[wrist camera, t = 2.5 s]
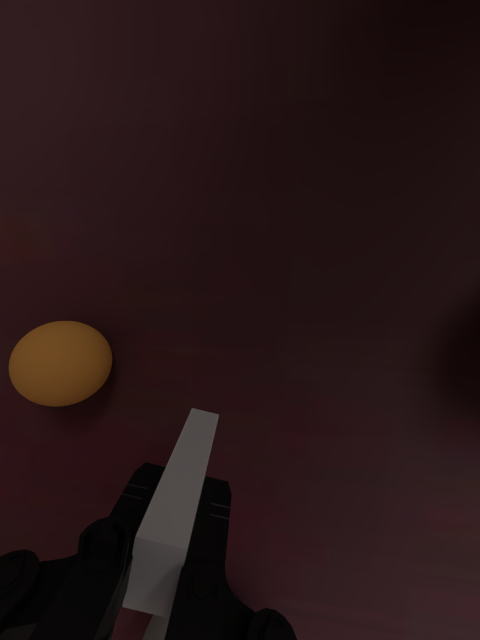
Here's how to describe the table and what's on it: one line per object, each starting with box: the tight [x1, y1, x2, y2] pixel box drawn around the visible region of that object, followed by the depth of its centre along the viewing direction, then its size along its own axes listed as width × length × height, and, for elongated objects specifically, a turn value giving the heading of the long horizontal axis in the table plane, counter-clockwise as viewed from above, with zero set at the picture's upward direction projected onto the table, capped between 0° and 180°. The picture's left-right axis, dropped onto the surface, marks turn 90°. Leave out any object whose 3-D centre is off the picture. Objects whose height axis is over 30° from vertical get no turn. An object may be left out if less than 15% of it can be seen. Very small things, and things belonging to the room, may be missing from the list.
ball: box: [9, 321, 112, 407], centre depth 16 cm, size 6×6×6 cm
